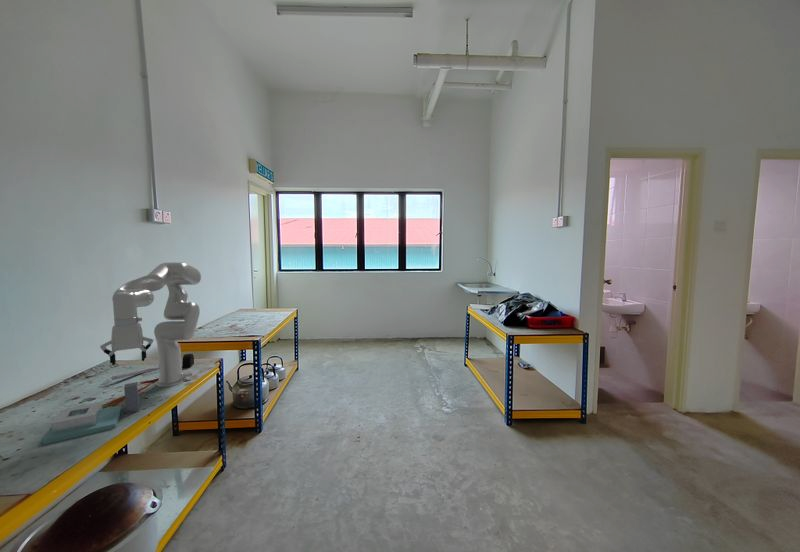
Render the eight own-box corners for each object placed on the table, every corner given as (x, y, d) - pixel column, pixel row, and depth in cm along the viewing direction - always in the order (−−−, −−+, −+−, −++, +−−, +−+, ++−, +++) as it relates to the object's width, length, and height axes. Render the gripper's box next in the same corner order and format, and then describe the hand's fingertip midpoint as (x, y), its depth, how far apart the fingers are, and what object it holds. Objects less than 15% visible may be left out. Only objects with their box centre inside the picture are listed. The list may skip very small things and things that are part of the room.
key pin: (139, 408, 147) (137, 382, 145) (138, 412, 143) (136, 385, 142) (127, 411, 144) (125, 384, 143) (126, 415, 141) (124, 387, 140)
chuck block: (122, 409, 146) (121, 396, 145) (115, 428, 131) (114, 413, 130) (58, 422, 135) (56, 408, 135) (42, 445, 120) (41, 428, 119)
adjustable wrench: (113, 380, 170) (113, 376, 170) (105, 379, 172) (105, 375, 172) (163, 369, 193) (163, 365, 193) (155, 368, 195) (155, 365, 195)
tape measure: (190, 369, 193) (189, 356, 192) (181, 370, 191) (181, 356, 191) (198, 361, 207) (197, 348, 206) (190, 361, 205) (189, 349, 205)
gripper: (152, 318, 148) (155, 356, 149) (100, 322, 139) (103, 363, 140) (151, 321, 142) (153, 361, 143) (96, 326, 132) (99, 368, 134)
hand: (128, 362), depth 142 cm, fingers open, 9 cm apart
